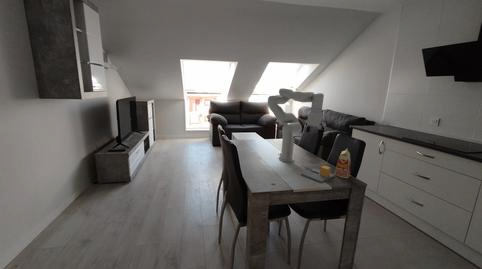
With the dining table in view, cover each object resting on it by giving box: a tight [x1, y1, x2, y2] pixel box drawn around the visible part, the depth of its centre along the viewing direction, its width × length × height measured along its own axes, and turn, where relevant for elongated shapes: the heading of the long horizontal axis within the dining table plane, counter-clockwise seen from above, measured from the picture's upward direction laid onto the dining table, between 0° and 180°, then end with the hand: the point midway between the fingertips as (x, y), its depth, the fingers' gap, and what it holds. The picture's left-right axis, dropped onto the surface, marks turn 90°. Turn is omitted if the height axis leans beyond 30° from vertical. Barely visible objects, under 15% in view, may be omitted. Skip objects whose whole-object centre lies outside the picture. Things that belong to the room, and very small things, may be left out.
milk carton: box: [333, 148, 351, 179], centre depth 164 cm, size 9×9×20 cm
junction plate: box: [300, 167, 336, 184], centre depth 162 cm, size 16×18×6 cm
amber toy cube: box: [319, 165, 332, 177], centre depth 161 cm, size 5×5×6 cm
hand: (313, 133), depth 169 cm, fingers open, 9 cm apart
